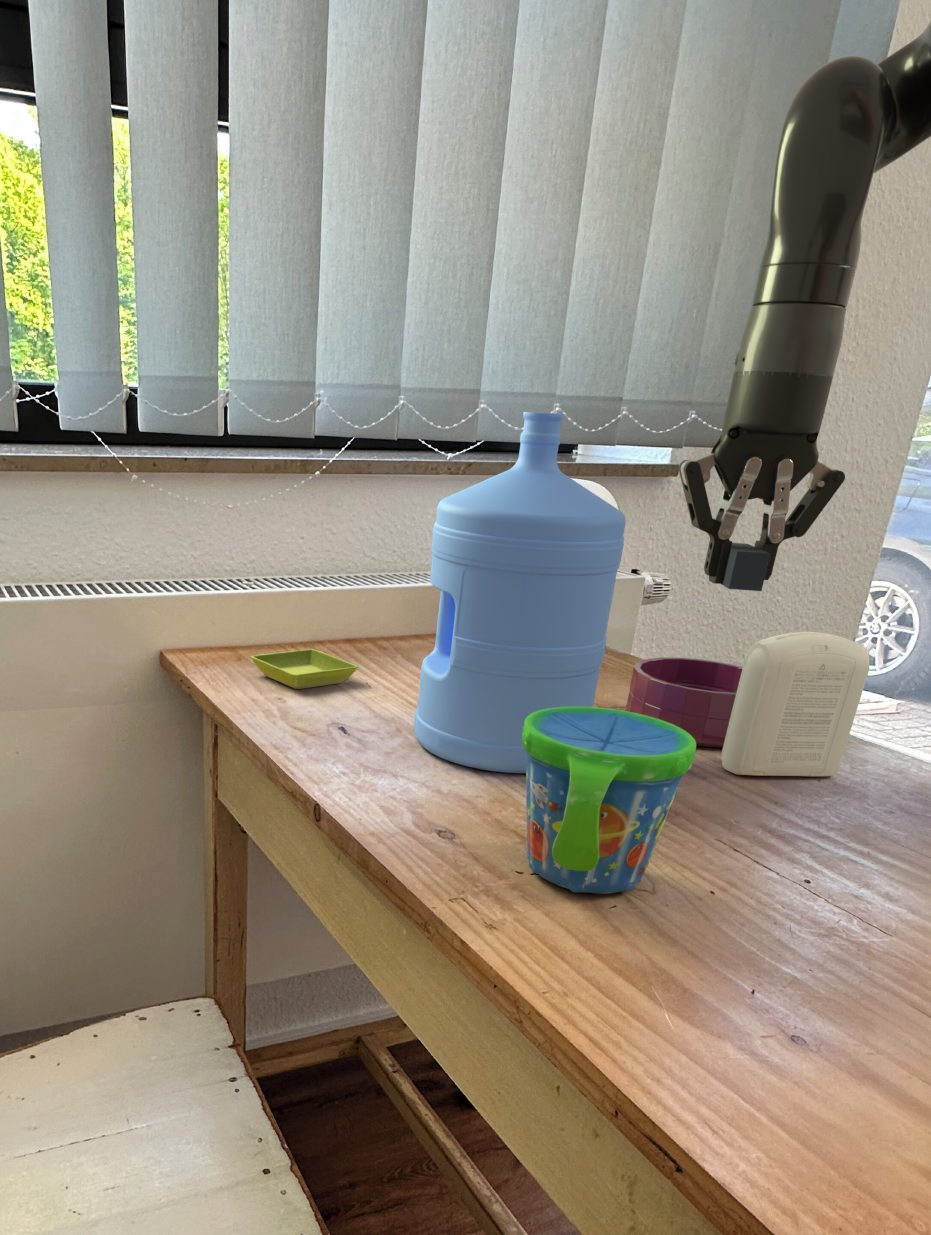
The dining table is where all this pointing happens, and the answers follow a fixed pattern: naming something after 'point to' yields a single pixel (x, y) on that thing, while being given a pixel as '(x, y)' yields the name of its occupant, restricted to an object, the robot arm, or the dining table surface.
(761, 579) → the eraser
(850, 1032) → the dining table surface
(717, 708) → the bowl
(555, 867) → the snack cup
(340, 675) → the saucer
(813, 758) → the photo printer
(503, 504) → the water jug
